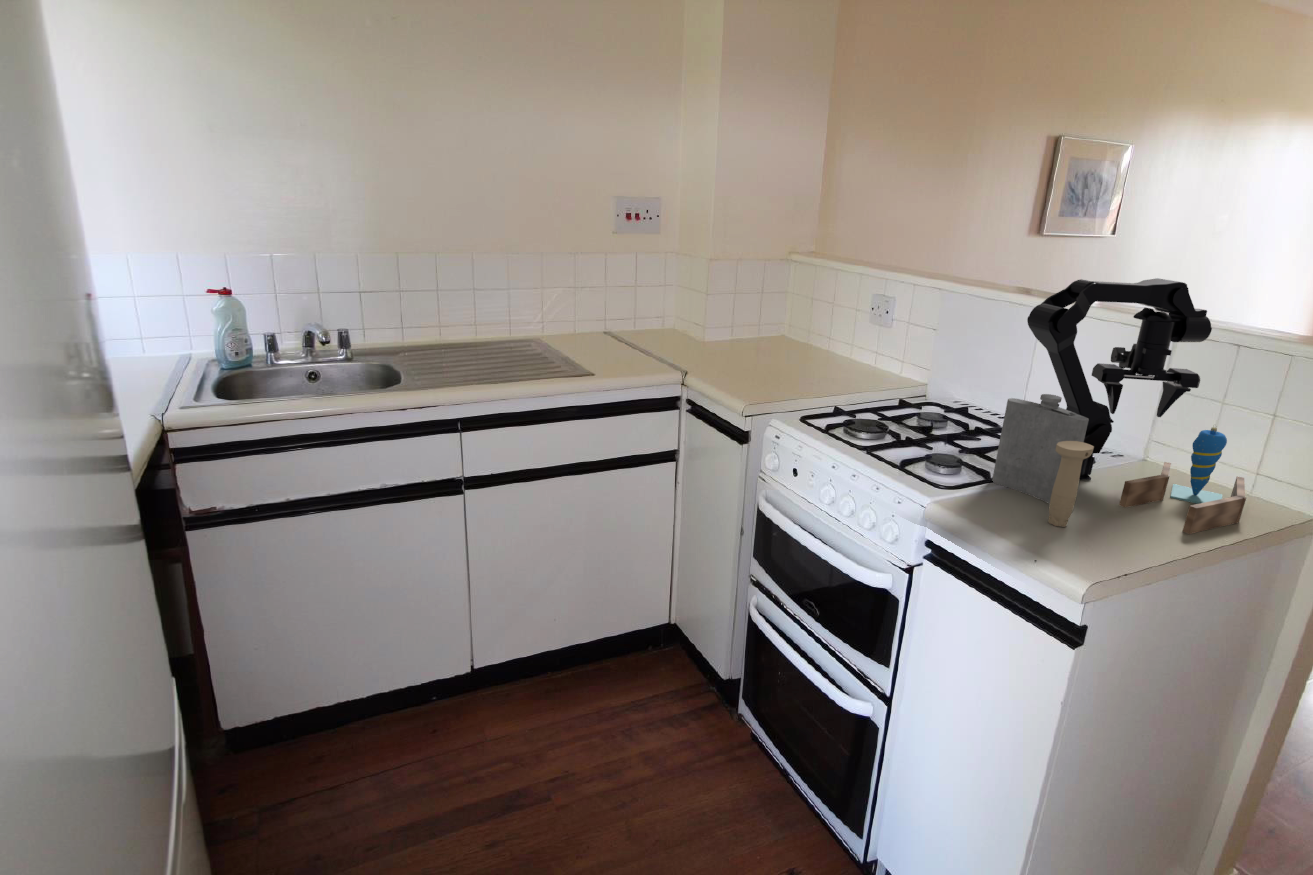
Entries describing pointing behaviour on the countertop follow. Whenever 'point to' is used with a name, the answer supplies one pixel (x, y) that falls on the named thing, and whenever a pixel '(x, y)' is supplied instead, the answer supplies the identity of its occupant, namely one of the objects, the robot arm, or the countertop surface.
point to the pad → (1187, 495)
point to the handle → (1067, 480)
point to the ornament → (1205, 457)
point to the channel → (1198, 514)
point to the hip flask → (1035, 444)
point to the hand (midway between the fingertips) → (1135, 415)
